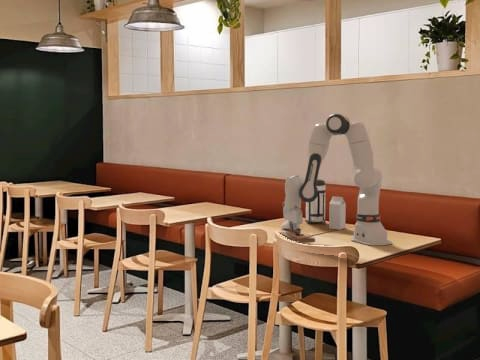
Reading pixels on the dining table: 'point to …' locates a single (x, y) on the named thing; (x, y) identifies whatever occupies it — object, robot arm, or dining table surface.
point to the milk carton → (337, 213)
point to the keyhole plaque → (291, 233)
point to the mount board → (297, 235)
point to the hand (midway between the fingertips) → (293, 229)
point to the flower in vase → (286, 225)
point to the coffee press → (317, 205)
